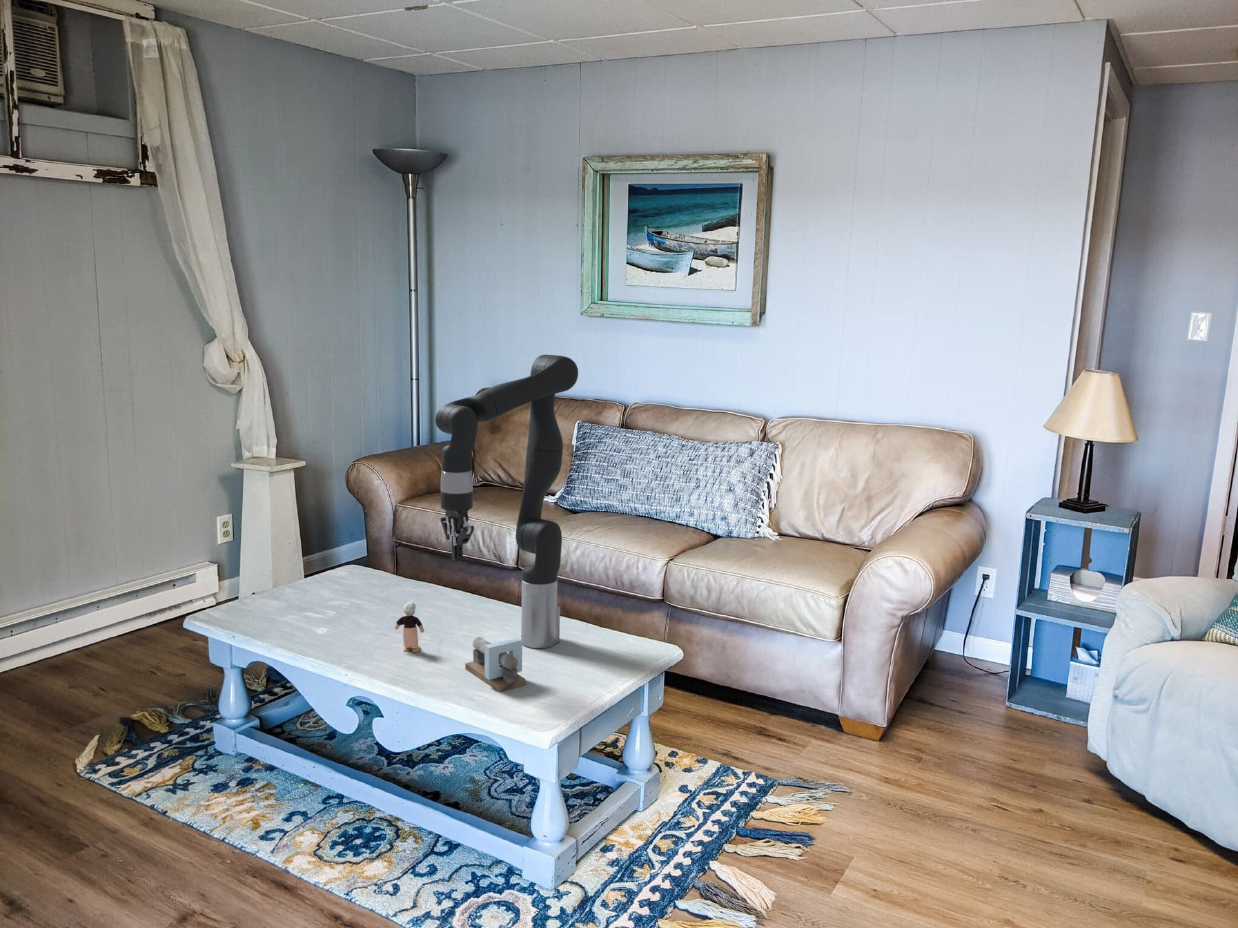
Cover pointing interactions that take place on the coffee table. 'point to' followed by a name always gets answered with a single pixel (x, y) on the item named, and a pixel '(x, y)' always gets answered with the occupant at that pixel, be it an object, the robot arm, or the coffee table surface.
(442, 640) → the coffee table surface
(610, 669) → the coffee table surface
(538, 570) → the robot arm
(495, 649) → the square plate with hole
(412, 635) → the grandmother figurine
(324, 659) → the coffee table surface
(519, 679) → the pipe stand
